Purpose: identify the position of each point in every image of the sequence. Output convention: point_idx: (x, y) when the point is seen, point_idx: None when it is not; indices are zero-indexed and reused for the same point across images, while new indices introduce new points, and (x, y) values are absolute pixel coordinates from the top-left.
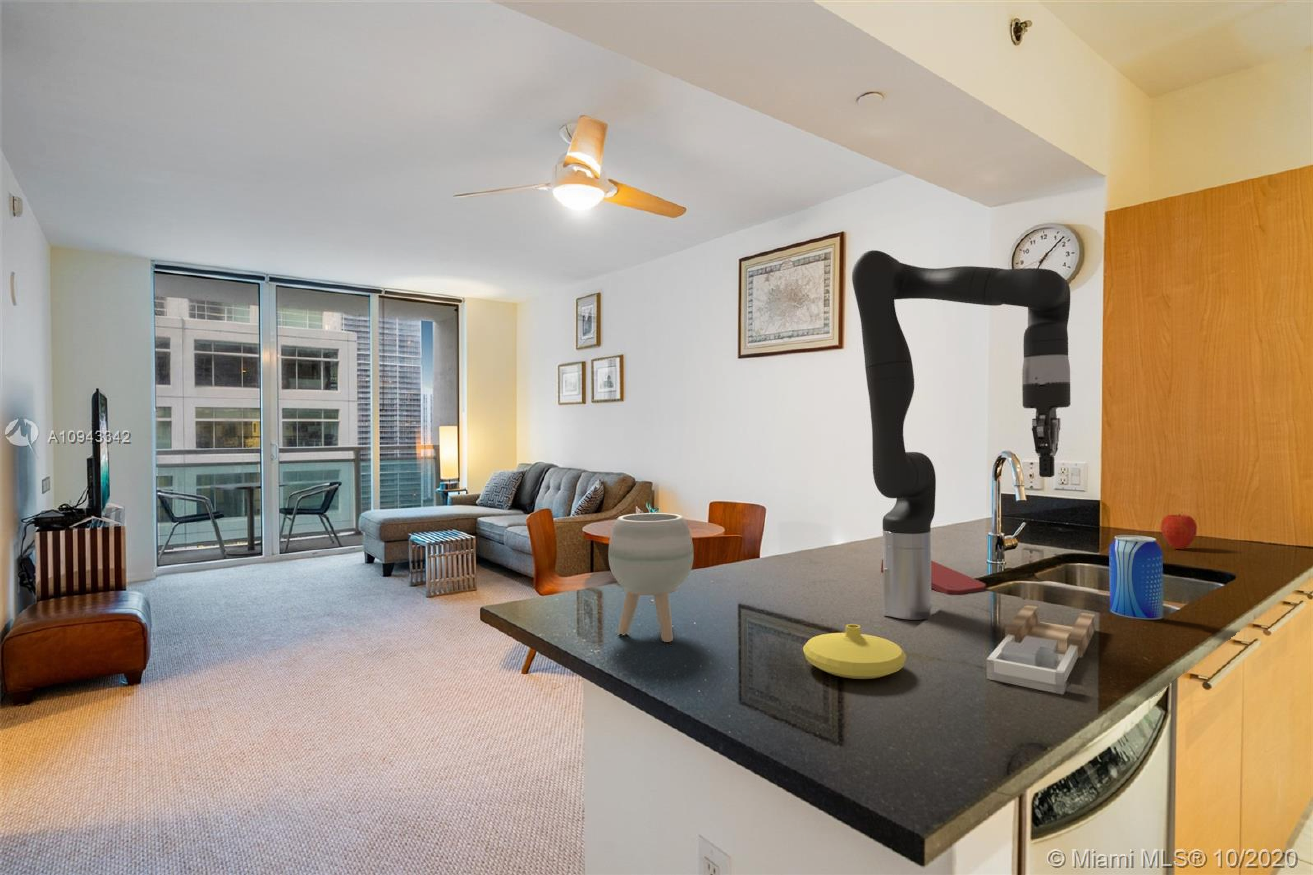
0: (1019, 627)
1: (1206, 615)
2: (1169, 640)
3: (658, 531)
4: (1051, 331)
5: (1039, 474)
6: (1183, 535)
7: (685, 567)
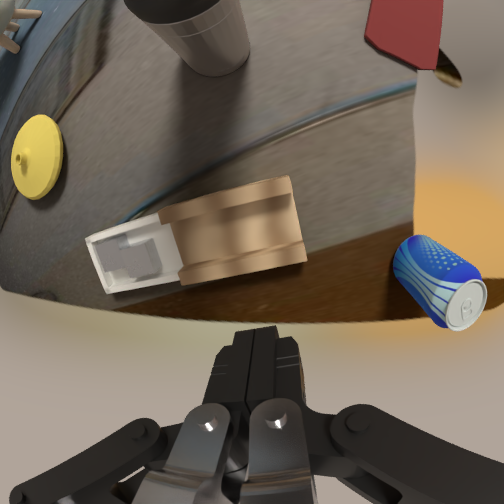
0: (171, 221)
1: None
2: (347, 305)
3: None
4: None
5: (235, 334)
6: None
7: None
